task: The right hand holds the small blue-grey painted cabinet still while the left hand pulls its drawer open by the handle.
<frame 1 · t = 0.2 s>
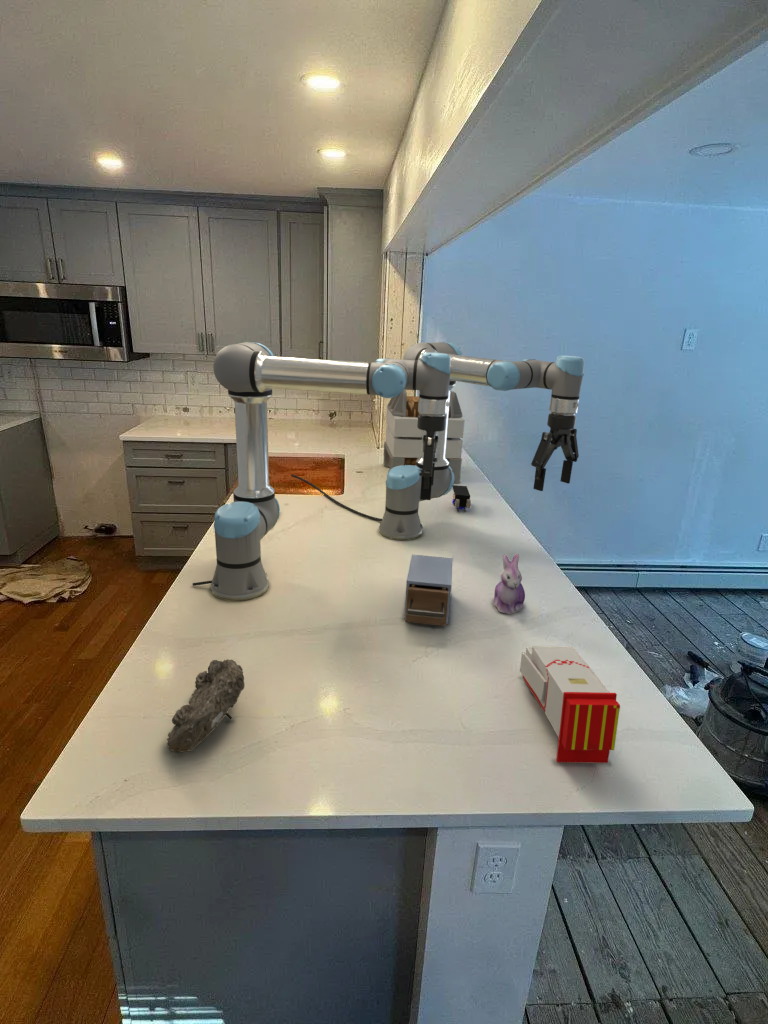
left hand: (426, 491, 155), 28 cm above the counter, tool pointing down, fingers open, 13 cm apart
right hand: (551, 486, 165), 28 cm above the counter, tool pointing down, fingers open, 13 cm apart
figurine character: (460, 507, 229), on the counter
grey slatted crate: (419, 473, 275), on the counter
figurine: (508, 606, 154), on the counter
cabinet: (427, 606, 152), on the counter
toy: (557, 712, 114), on the counter
drawer: (427, 598, 144), point 6 cm above the counter, slide at 1.4 cm
fossil: (212, 717, 108), on the counter
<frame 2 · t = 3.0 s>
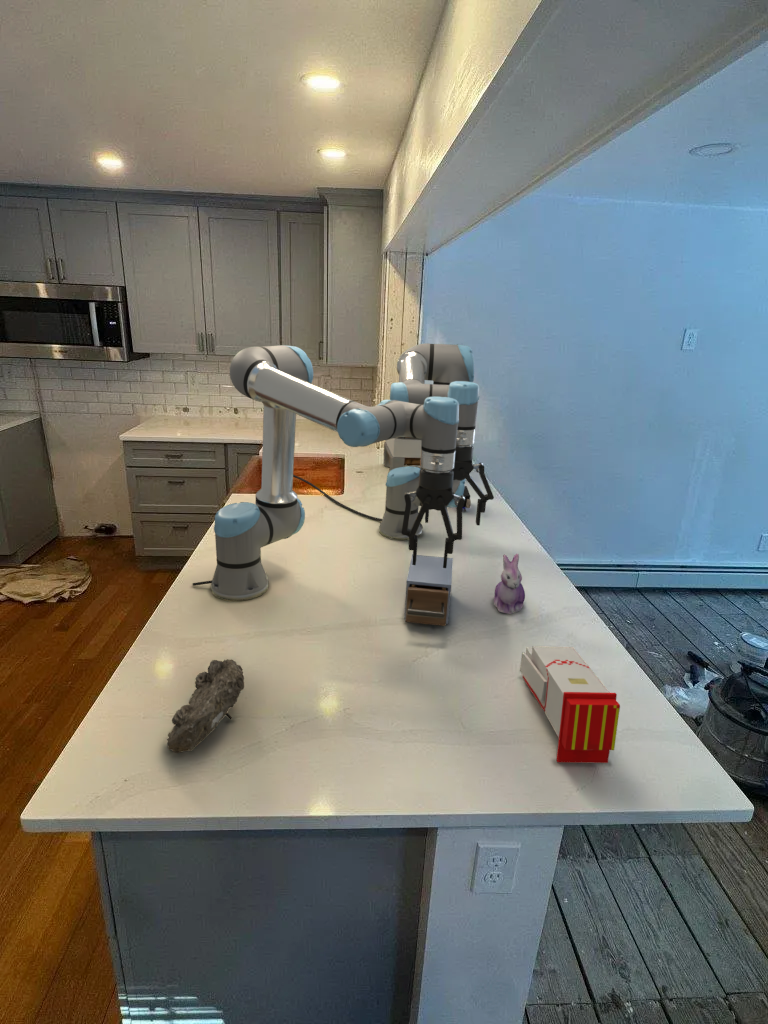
left hand: (429, 564, 132), 19 cm above the counter, tool pointing down, fingers open, 6 cm apart
right hand: (452, 522, 151), 22 cm above the counter, tool pointing down, fingers open, 13 cm apart
nothing on the counter moved.
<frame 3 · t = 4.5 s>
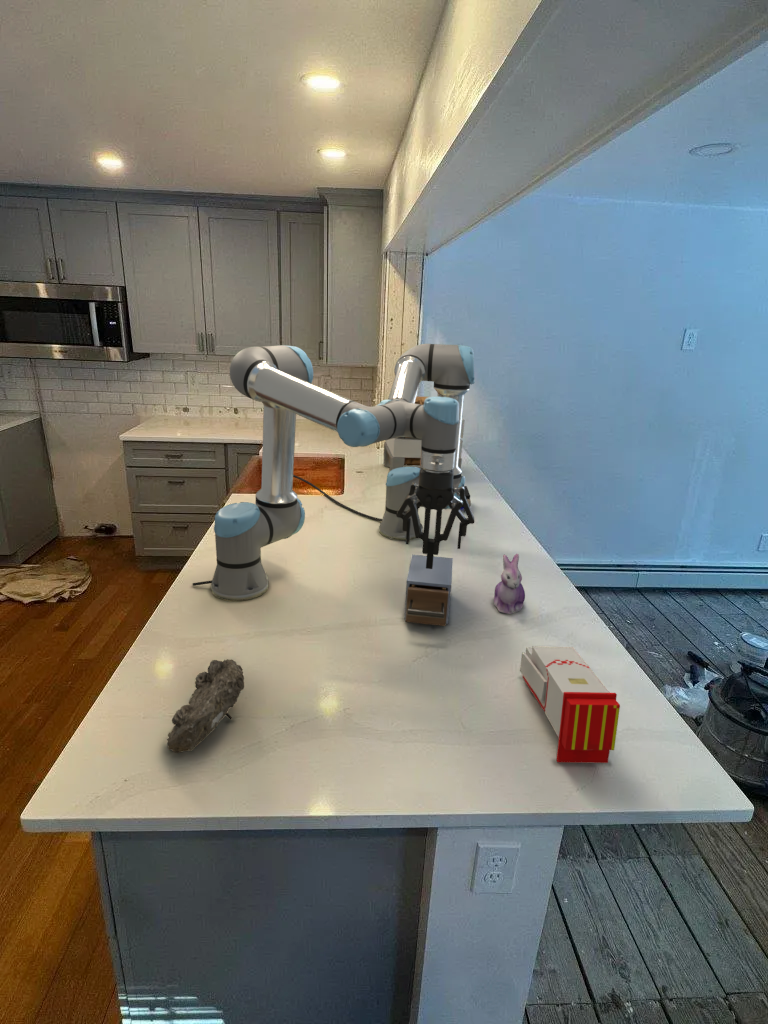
left hand: (429, 566, 133), 18 cm above the counter, tool pointing down, fingers closed
right hand: (433, 544, 150), 16 cm above the counter, tool pointing down, fingers open, 13 cm apart
nothing on the counter moved.
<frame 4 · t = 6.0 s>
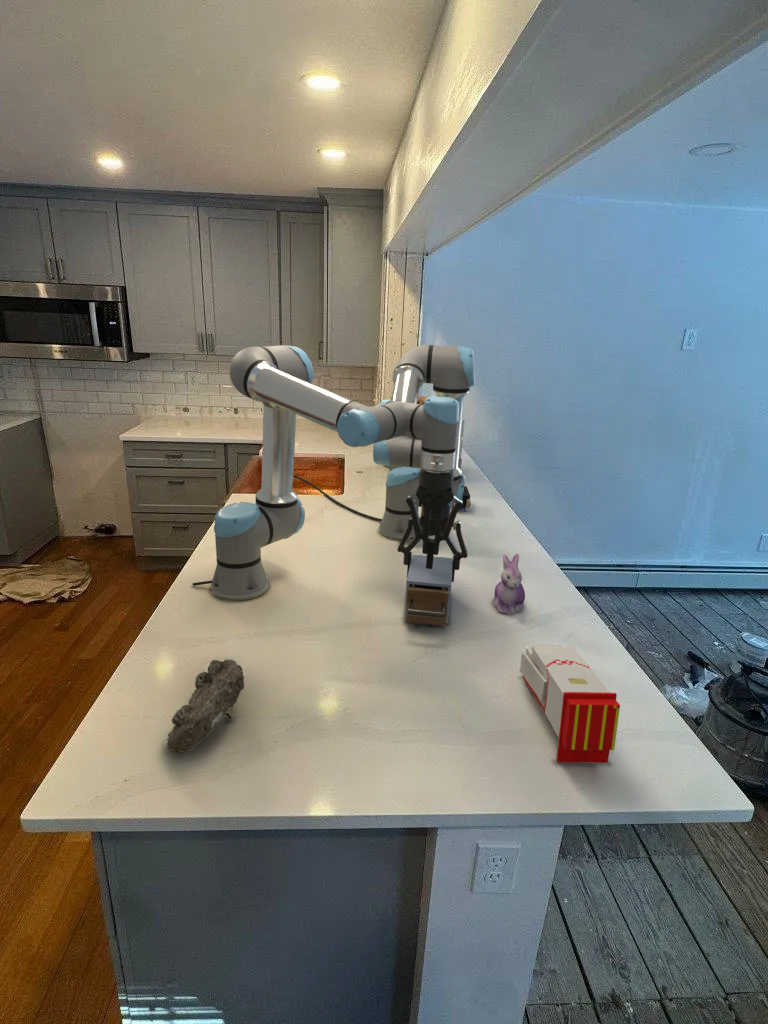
left hand: (429, 566, 133), 18 cm above the counter, tool pointing down, fingers closed
right hand: (430, 577, 154), 6 cm above the counter, tool pointing down, fingers closed on cabinet, 11 cm apart
cabinet: (427, 606, 152), on the counter, touching right hand
everything else where it was.
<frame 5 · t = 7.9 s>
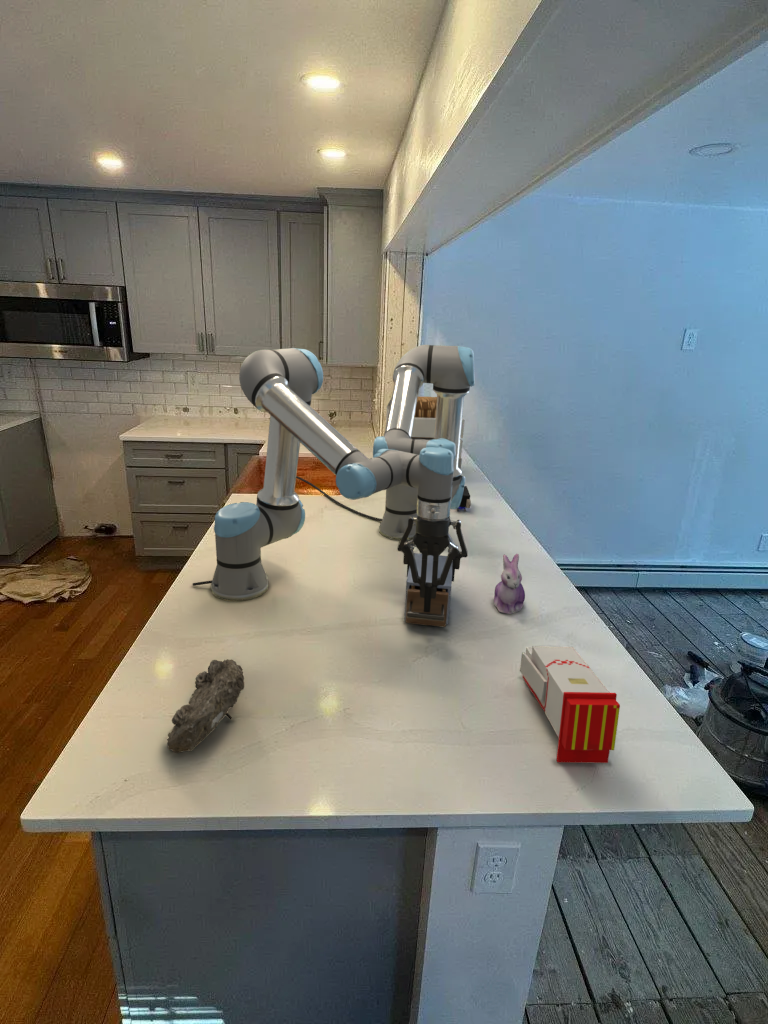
left hand: (427, 609, 136), 7 cm above the counter, tool pointing down, fingers closed
right hand: (430, 577, 153), 7 cm above the counter, tool pointing down, fingers closed on cabinet, 11 cm apart
cabinet: (427, 605, 152), on the counter, touching right hand
drawer: (427, 599, 144), point 6 cm above the counter, slide at 1.5 cm, touching left hand
everything else where it was.
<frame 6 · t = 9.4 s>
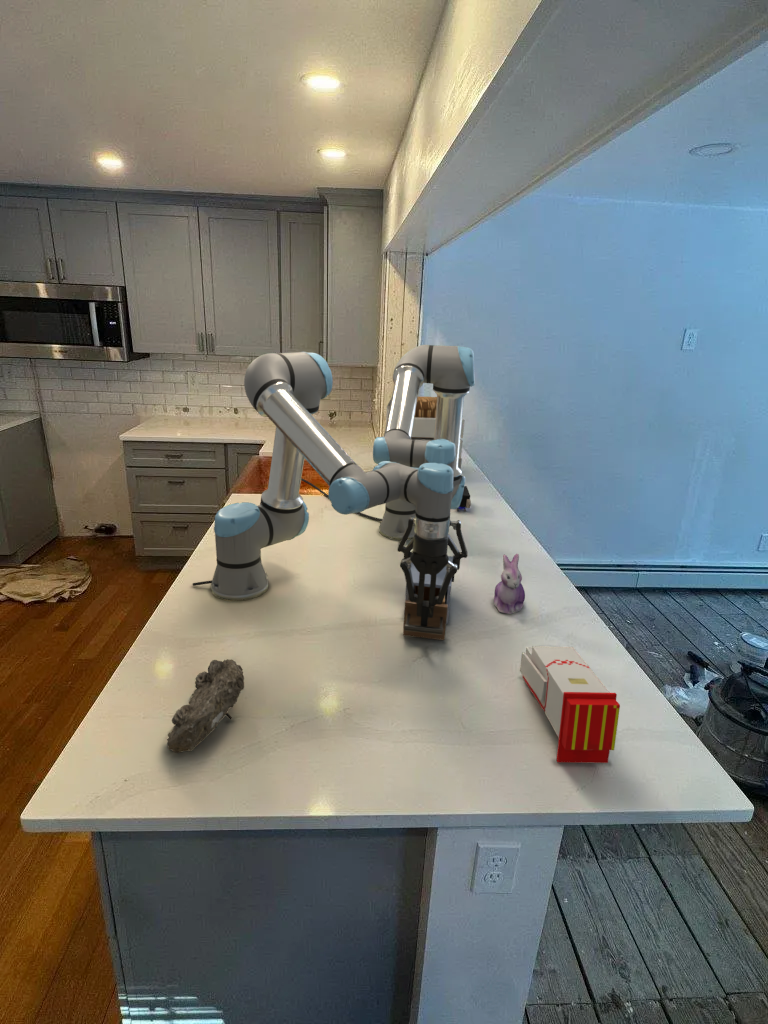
left hand: (423, 628, 131), 5 cm above the counter, tool pointing down, fingers closed
right hand: (430, 577, 153), 7 cm above the counter, tool pointing down, fingers closed on cabinet, 11 cm apart
cabinet: (427, 604, 152), on the counter, touching right hand
drawer: (426, 611, 139), point 5 cm above the counter, slide at 7.1 cm, touching left hand
everything else where it was.
when the right hand's fingers open (6 cm above the counter, at t = 11.1 s): cabinet stays where it is, on the counter.
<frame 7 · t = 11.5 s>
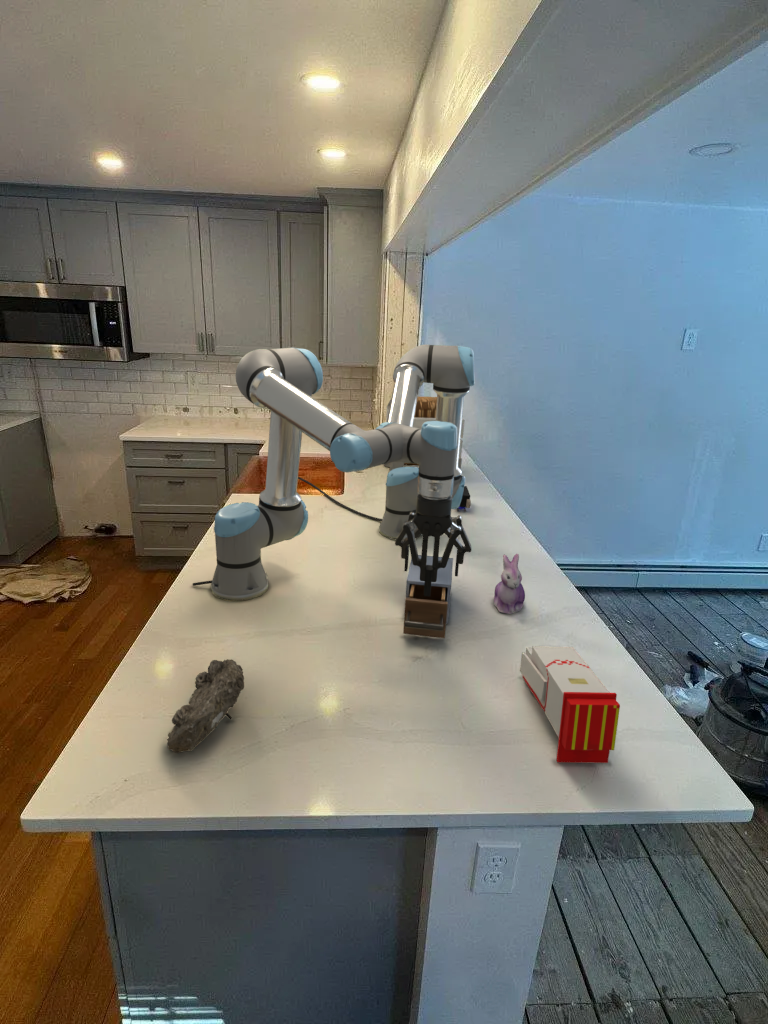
left hand: (427, 593, 129), 14 cm above the counter, tool pointing down, fingers closed
right hand: (431, 571, 154), 8 cm above the counter, tool pointing down, fingers open, 13 cm apart
cabinet: (427, 606, 152), on the counter
drawer: (426, 609, 139), point 6 cm above the counter, slide at 7.1 cm
everything else where it was.
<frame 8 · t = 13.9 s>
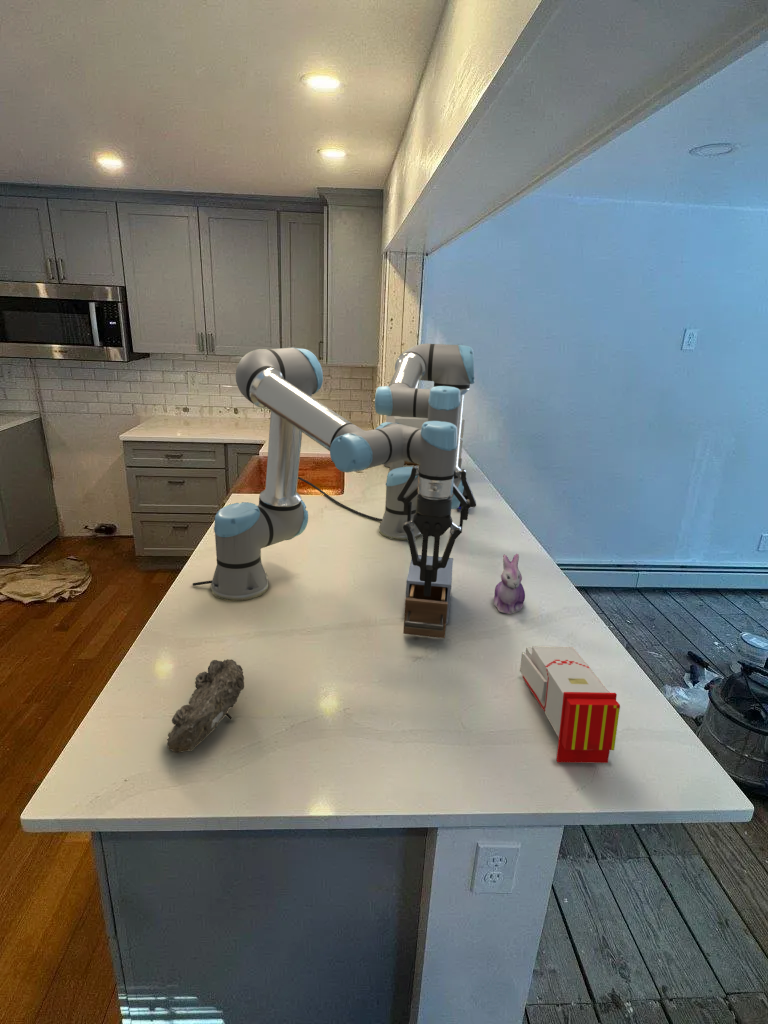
left hand: (427, 593, 129), 14 cm above the counter, tool pointing down, fingers closed
right hand: (434, 528, 149), 21 cm above the counter, tool pointing down, fingers open, 13 cm apart
nothing on the counter moved.
at the end: drawer slide at 7.1 cm; cabinet tilted 0°; cabinet never tilted more than 5° during the clip; cabinet moved 0.1 cm from its start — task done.
